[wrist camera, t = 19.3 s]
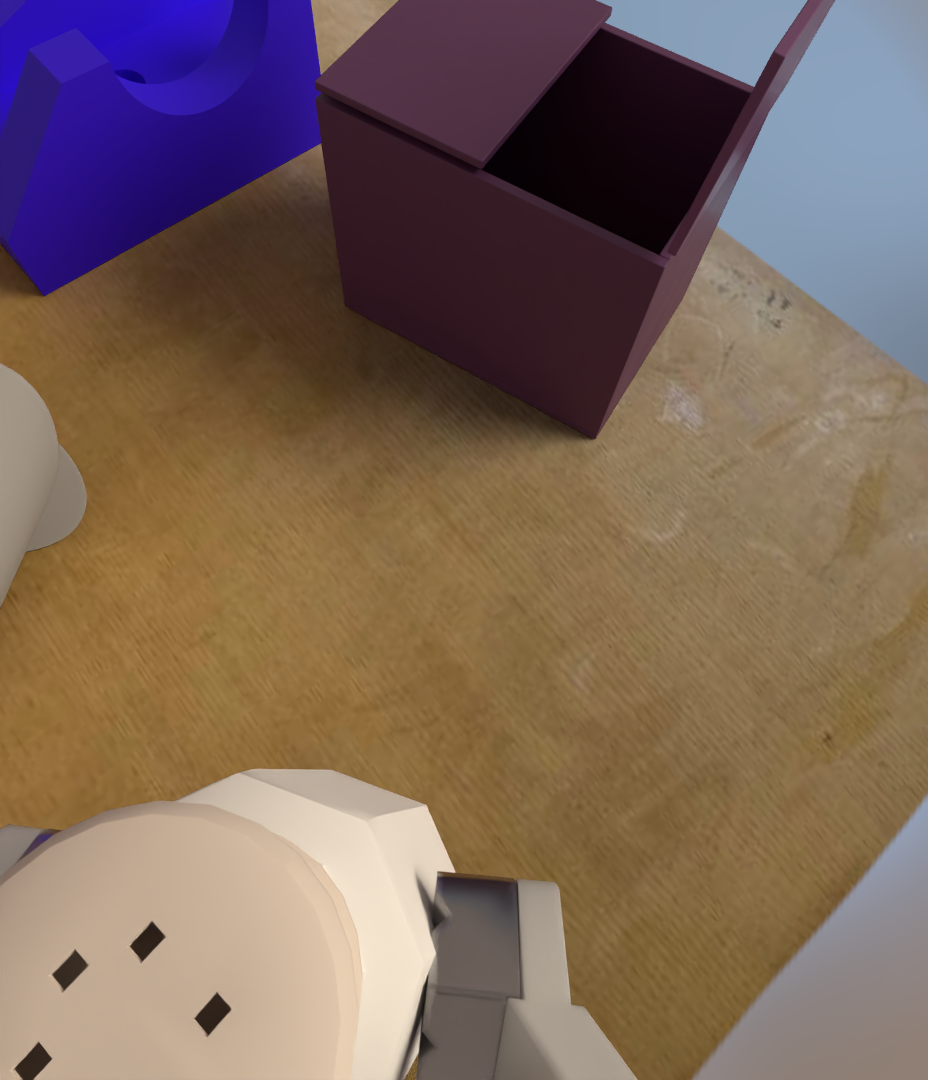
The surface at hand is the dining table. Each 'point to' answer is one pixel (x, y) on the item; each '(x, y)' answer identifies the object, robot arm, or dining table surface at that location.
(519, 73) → the carton
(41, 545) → the elbow connector
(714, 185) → the flap
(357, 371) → the dining table surface
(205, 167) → the bracket
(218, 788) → the pepper shaker
